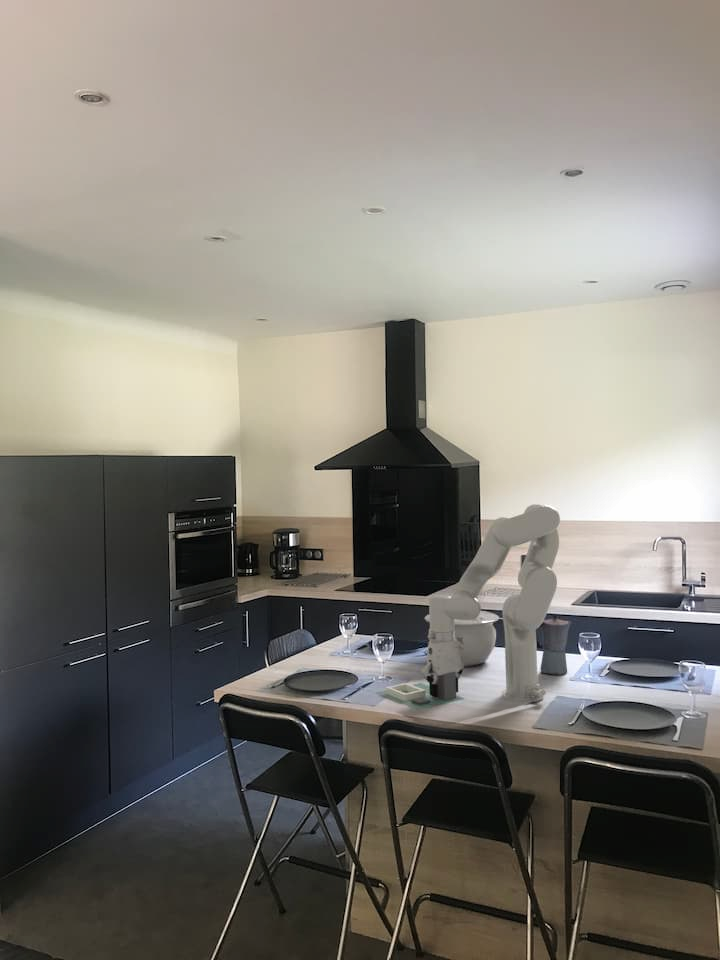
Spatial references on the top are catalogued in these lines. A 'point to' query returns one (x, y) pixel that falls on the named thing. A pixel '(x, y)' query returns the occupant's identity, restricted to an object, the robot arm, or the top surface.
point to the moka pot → (554, 645)
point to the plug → (446, 686)
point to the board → (414, 696)
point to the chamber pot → (475, 637)
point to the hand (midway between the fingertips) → (444, 693)
